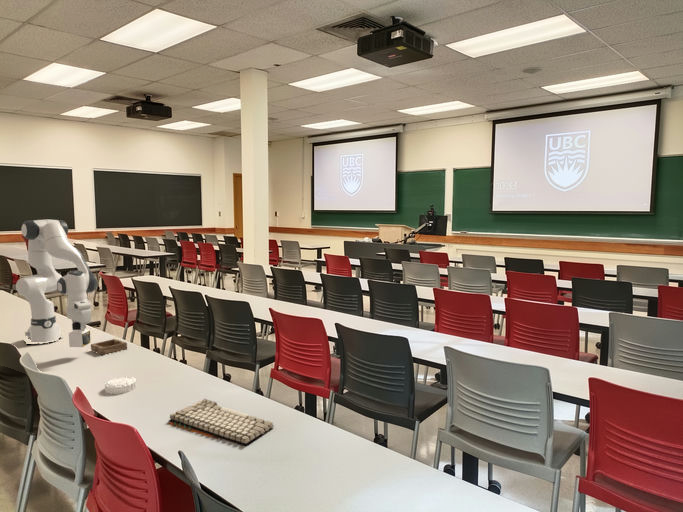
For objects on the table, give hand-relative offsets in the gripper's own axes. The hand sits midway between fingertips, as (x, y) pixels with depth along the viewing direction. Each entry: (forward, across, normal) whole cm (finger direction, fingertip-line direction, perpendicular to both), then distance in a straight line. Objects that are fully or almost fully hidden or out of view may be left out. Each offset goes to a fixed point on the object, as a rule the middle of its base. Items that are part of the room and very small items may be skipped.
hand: (79, 329), depth 241 cm
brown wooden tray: (+14, +1, +14) cm, 20 cm away
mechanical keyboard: (+13, +120, -3) cm, 120 cm away
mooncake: (+14, +59, -9) cm, 61 cm away
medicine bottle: (+8, 0, 0) cm, 8 cm away
